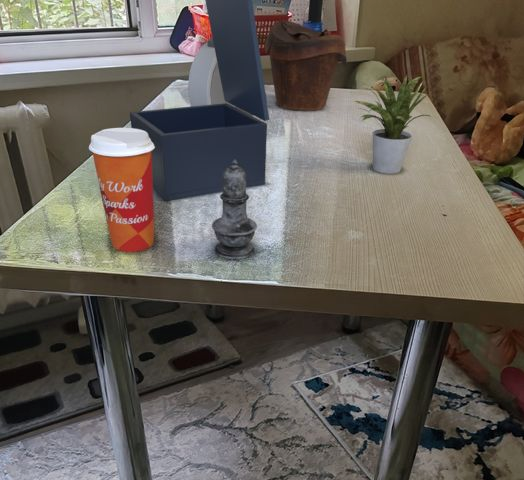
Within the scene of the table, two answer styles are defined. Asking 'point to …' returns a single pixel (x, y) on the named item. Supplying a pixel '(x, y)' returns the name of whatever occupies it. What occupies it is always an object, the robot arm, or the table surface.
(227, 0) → the lid
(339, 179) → the table surface
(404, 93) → the house plant
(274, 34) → the brown bucket
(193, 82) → the alarm clock
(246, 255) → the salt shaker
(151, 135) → the dark blue open box
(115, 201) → the paper cup
